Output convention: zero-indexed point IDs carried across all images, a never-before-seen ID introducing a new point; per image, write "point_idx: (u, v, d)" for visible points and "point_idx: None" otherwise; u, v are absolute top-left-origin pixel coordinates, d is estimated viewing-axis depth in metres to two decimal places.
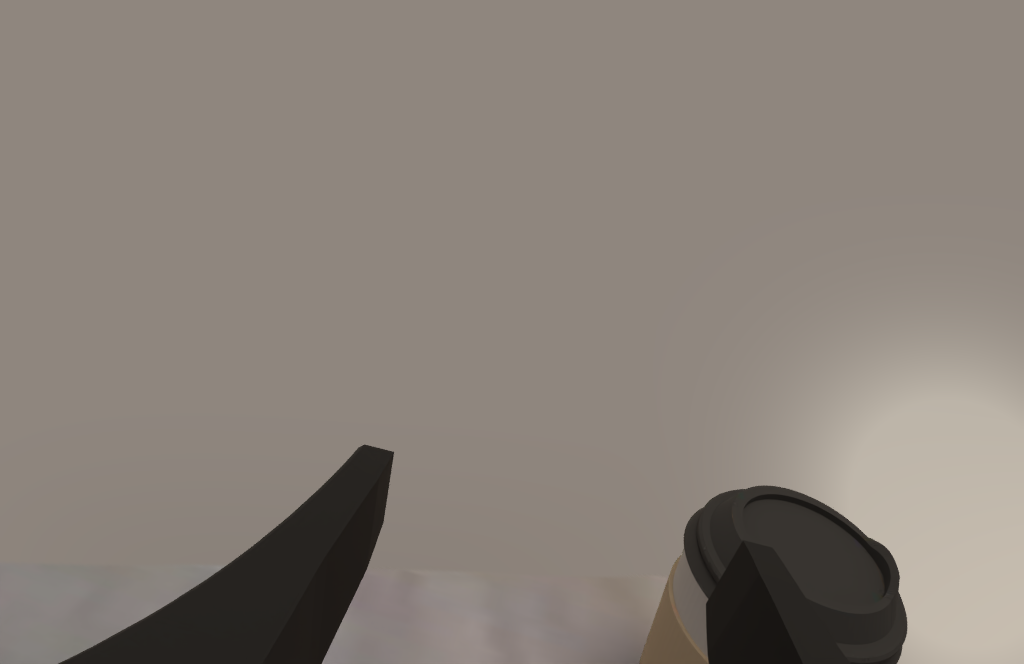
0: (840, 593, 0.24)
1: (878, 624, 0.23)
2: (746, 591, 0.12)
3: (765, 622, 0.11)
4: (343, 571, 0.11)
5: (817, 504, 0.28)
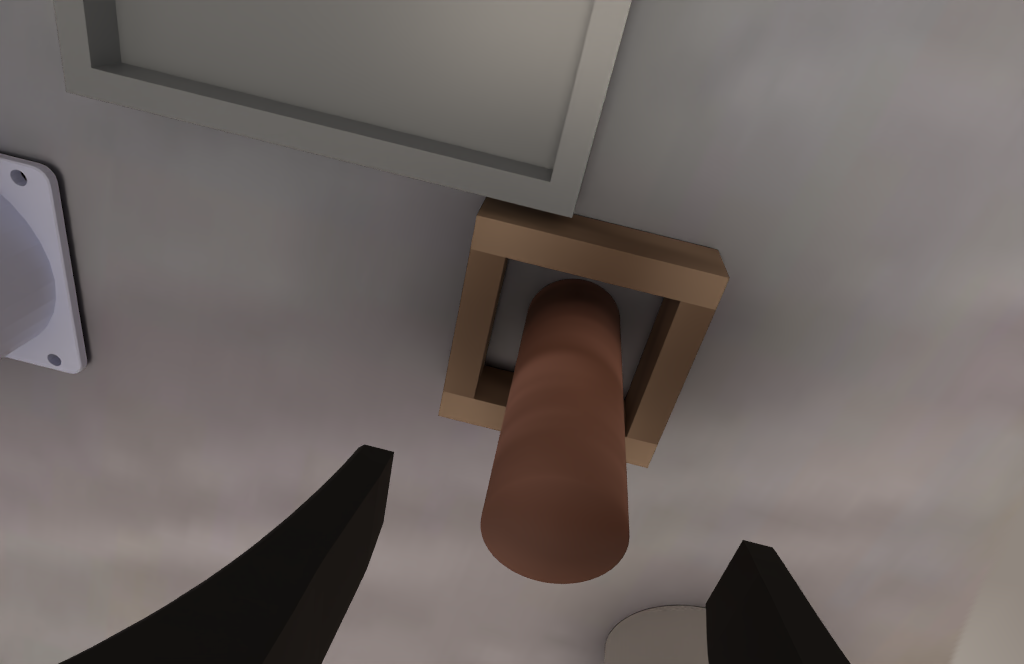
0: None
1: None
2: (746, 591, 0.12)
3: (765, 622, 0.11)
4: (342, 570, 0.11)
5: None
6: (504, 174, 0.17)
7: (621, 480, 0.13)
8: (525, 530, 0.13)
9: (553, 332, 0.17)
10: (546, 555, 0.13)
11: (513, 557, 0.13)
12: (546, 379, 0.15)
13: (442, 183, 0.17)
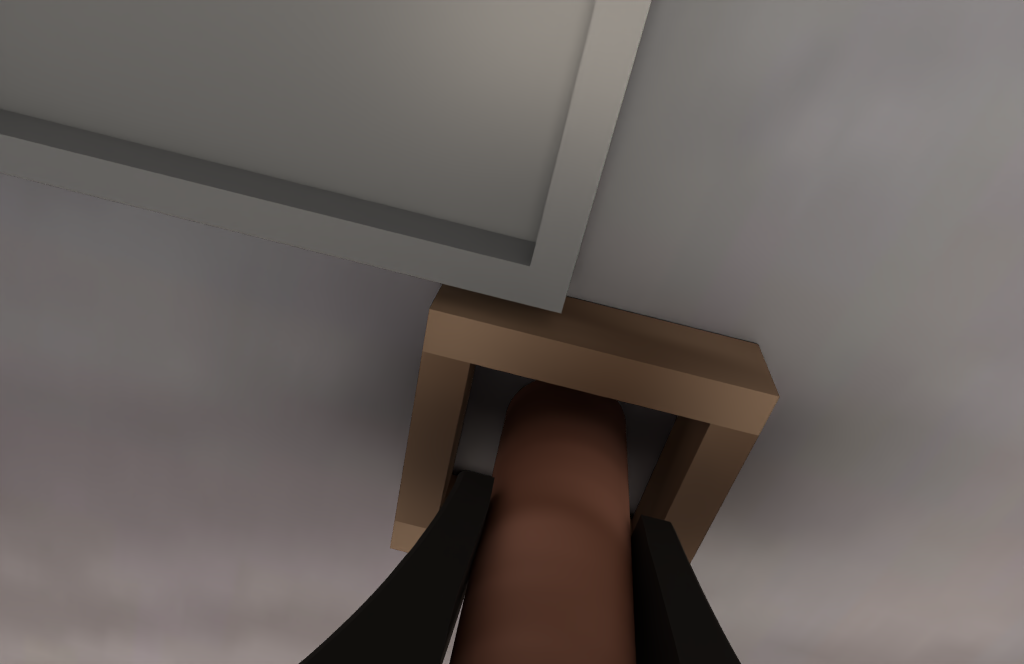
0: None
1: None
2: (638, 564, 0.12)
3: (649, 592, 0.11)
4: (459, 600, 0.11)
5: None
6: (466, 255, 0.12)
7: None
8: None
9: (534, 471, 0.12)
10: None
11: None
12: (520, 566, 0.10)
13: (381, 265, 0.12)
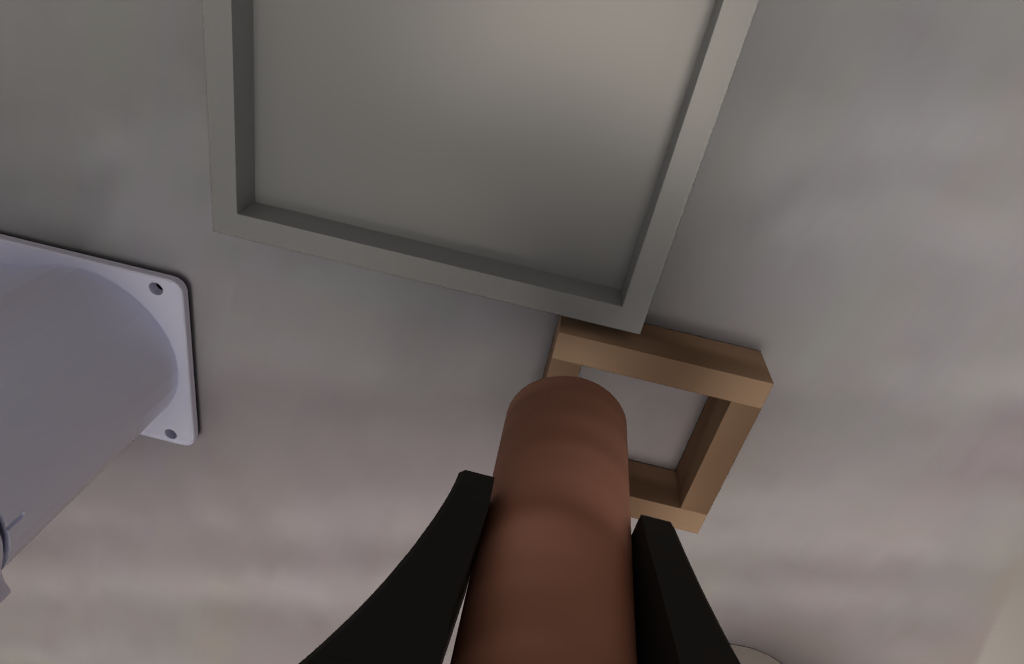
0: None
1: None
2: (638, 564, 0.12)
3: (649, 592, 0.11)
4: (459, 600, 0.11)
5: None
6: (583, 300, 0.20)
7: None
8: None
9: (535, 471, 0.12)
10: None
11: None
12: (521, 566, 0.10)
13: (530, 305, 0.20)
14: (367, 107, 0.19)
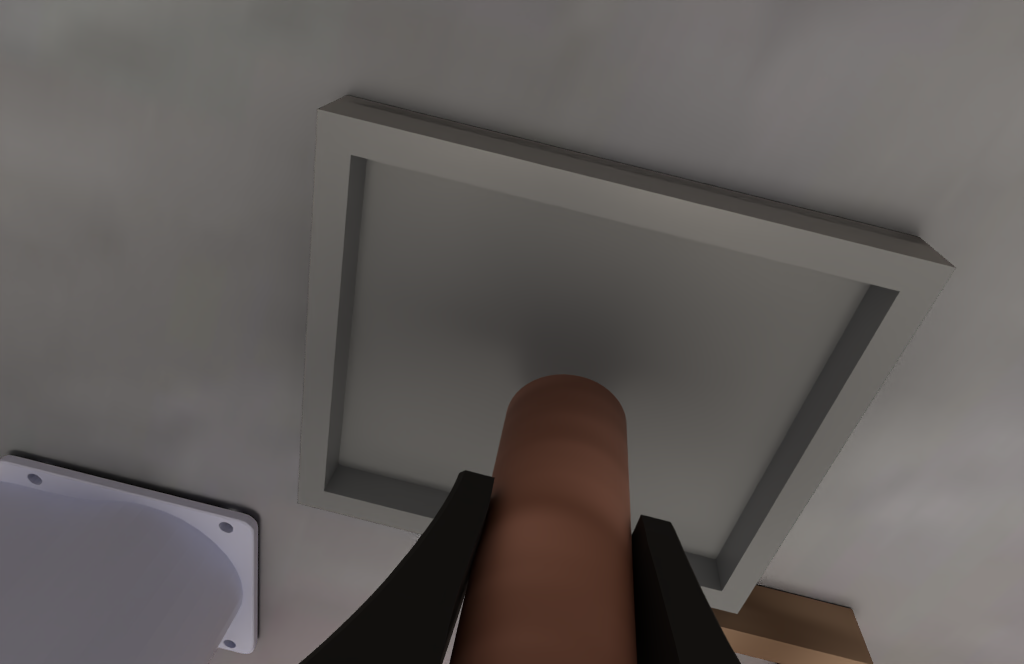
0: None
1: None
2: (638, 564, 0.12)
3: (649, 593, 0.11)
4: (459, 600, 0.11)
5: None
6: None
7: None
8: None
9: (535, 470, 0.12)
10: None
11: None
12: (520, 565, 0.10)
13: None
14: (465, 396, 0.18)
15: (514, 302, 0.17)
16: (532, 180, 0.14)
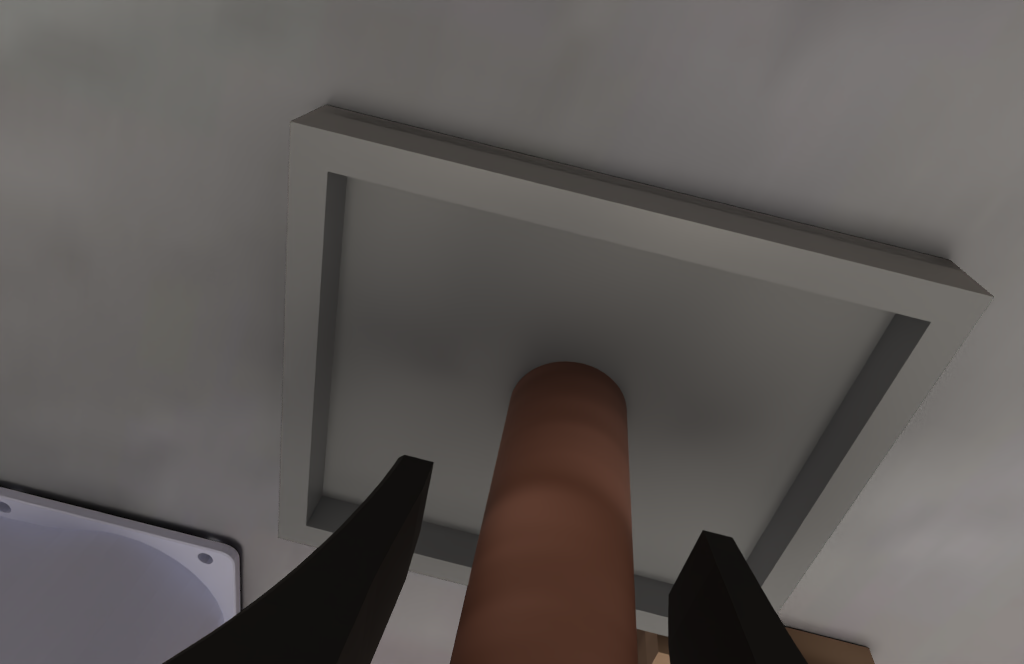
0: None
1: None
2: (703, 580, 0.12)
3: (719, 610, 0.11)
4: (389, 582, 0.11)
5: None
6: None
7: None
8: None
9: (538, 450, 0.13)
10: None
11: None
12: (525, 536, 0.11)
13: None
14: (456, 426, 0.17)
15: (508, 328, 0.15)
16: (527, 200, 0.12)
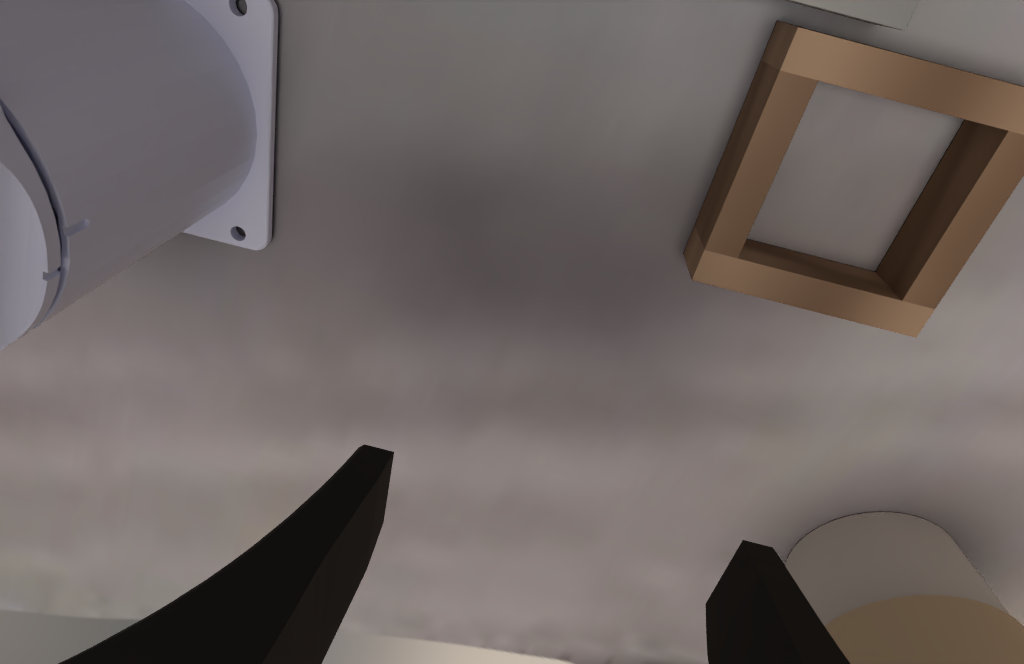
0: None
1: None
2: (746, 591, 0.12)
3: (765, 622, 0.11)
4: (342, 570, 0.11)
5: None
6: None
7: None
8: None
9: None
10: None
11: None
12: None
13: None
14: None
15: None
16: None
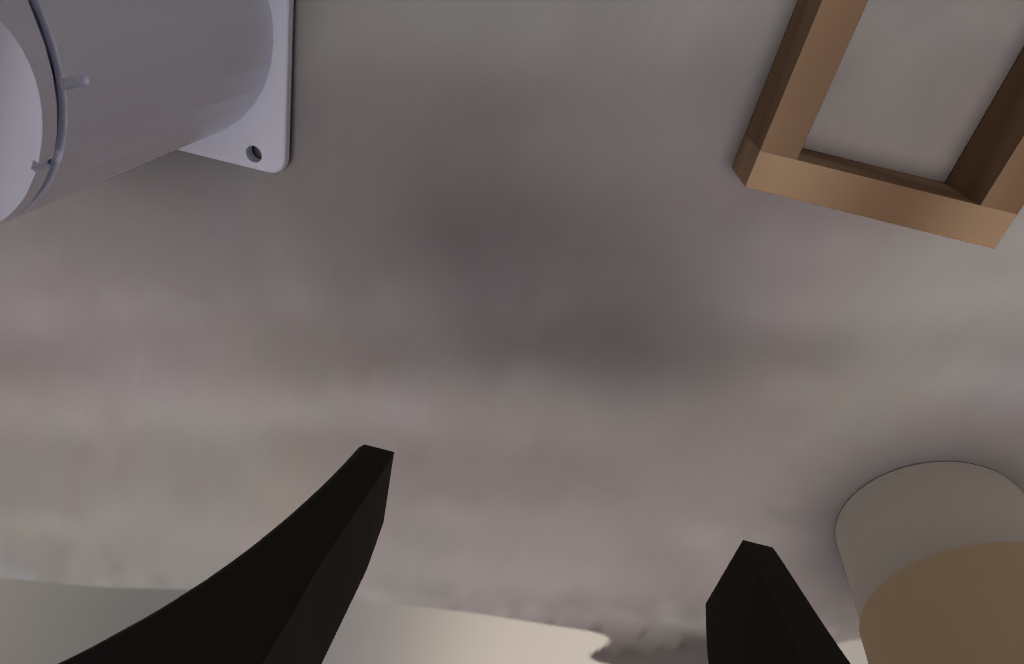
0: None
1: None
2: (746, 591, 0.12)
3: (765, 622, 0.11)
4: (342, 570, 0.11)
5: None
6: None
7: None
8: None
9: None
10: None
11: None
12: None
13: None
14: None
15: None
16: None
